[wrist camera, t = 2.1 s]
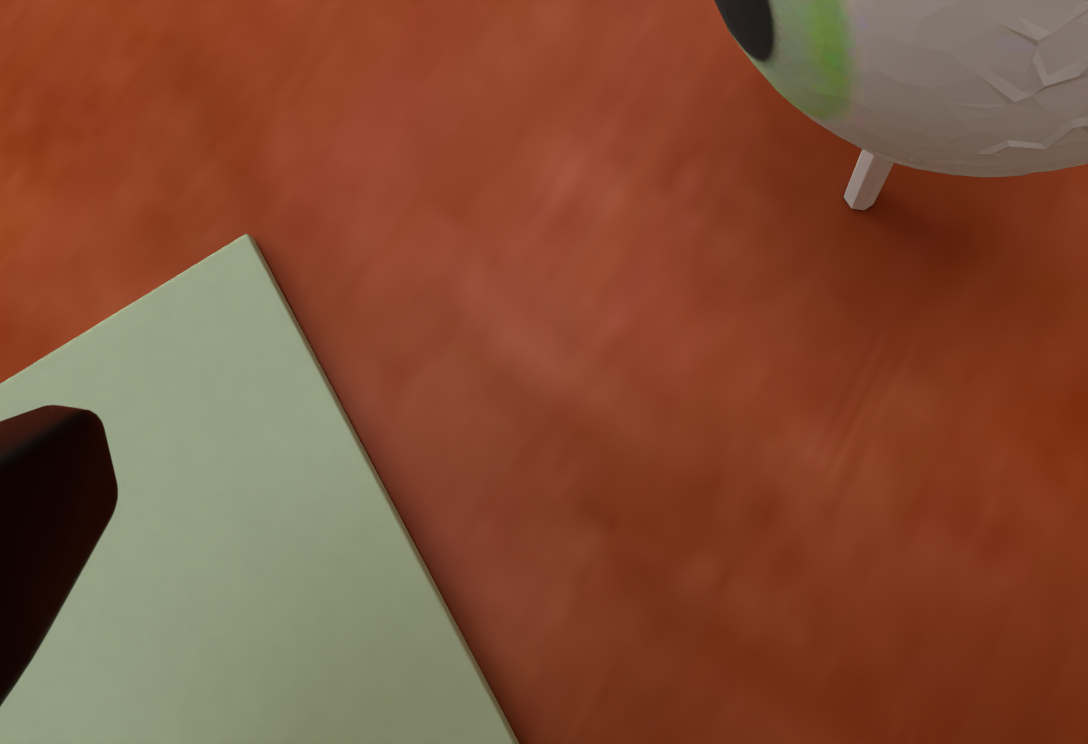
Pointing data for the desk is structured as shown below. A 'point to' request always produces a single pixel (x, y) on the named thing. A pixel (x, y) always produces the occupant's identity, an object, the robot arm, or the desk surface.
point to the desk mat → (237, 545)
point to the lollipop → (929, 80)
